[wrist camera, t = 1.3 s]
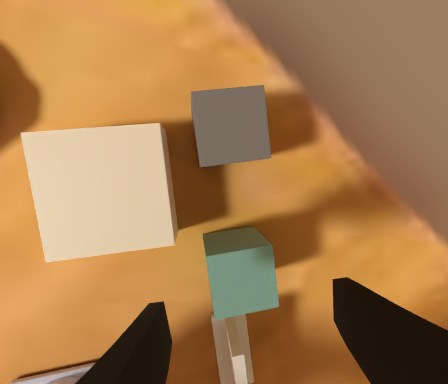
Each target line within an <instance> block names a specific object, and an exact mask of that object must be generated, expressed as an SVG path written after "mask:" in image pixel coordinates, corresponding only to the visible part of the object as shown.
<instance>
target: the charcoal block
mask: <svg viewBox="0 0 448 384" xmlns="http://www.w3.org/2000/svg"><path fill="white" fill-rule="evenodd" d="M191 112H192V119H193V127H194V134H195V141H196V148H197V155H198V162H199V167H207V166H215V165H222V164H230V163H238V162H246V161H253V160H261V159H269V158H271V150H270V140H269V130H268V120H267V110H266V101H265V91H264V85H259V86H248V87H237V88H226V89H215V90H203V91H192V92H191Z"/></svg>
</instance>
